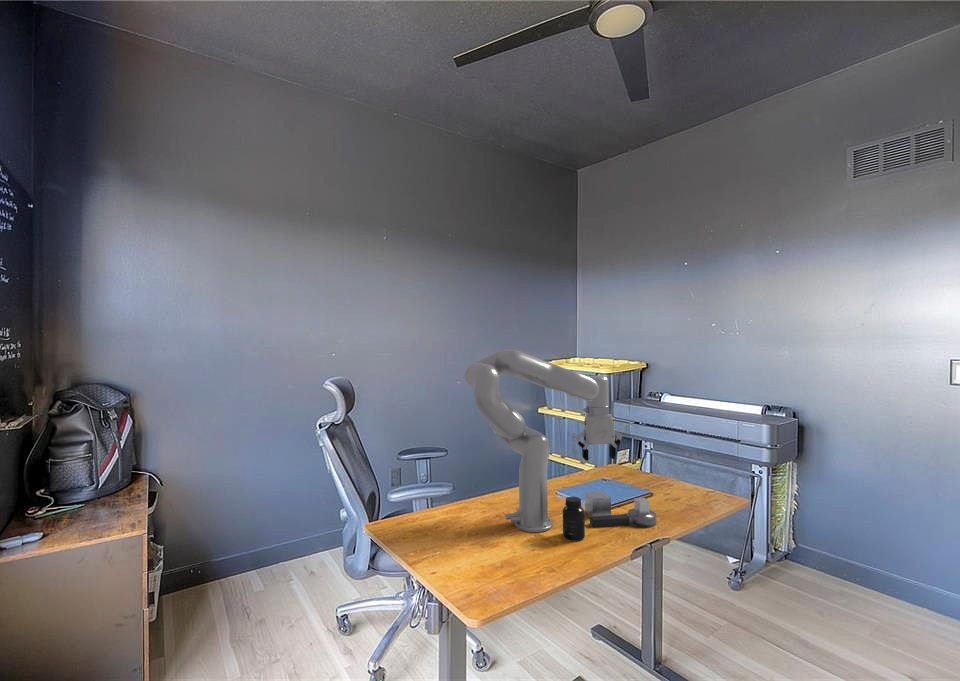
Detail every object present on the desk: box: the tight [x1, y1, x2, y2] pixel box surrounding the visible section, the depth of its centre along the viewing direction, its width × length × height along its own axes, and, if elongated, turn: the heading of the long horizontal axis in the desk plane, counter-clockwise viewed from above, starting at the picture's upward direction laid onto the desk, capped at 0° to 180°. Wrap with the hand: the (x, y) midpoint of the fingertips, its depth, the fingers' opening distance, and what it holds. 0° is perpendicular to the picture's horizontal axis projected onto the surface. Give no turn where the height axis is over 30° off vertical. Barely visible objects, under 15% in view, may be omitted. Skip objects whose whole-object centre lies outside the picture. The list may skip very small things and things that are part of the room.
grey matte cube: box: [584, 490, 612, 518], centre depth 162 cm, size 7×7×7 cm
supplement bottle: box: [562, 496, 586, 542], centre depth 144 cm, size 7×7×12 cm
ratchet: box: [589, 497, 657, 528], centre depth 154 cm, size 22×9×8 cm, turn 99°
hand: (599, 459), depth 162 cm, fingers open, 9 cm apart
